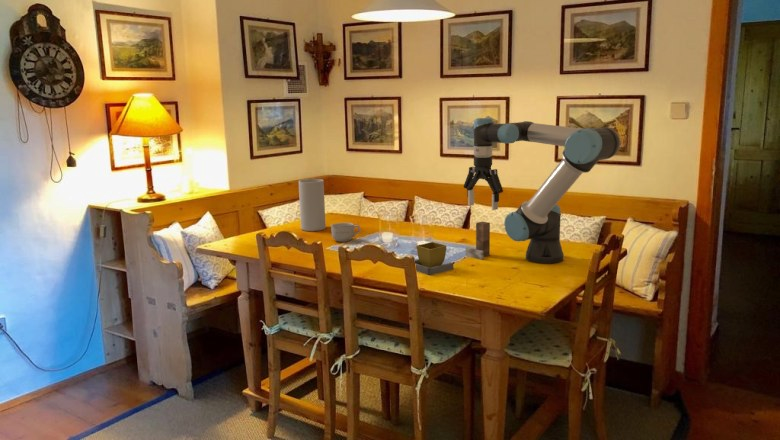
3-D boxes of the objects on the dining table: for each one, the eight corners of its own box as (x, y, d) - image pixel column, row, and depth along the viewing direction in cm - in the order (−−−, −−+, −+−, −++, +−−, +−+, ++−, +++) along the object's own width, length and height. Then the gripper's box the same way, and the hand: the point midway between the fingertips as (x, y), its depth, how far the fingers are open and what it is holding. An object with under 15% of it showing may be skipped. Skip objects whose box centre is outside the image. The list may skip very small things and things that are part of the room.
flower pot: (430, 271, 249) (430, 249, 247) (416, 267, 256) (415, 245, 254) (447, 267, 254) (447, 245, 252) (432, 263, 261) (432, 241, 259)
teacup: (327, 242, 300) (326, 225, 298) (338, 237, 310) (337, 221, 308) (354, 244, 295) (354, 227, 293) (364, 239, 305) (363, 222, 303)
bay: (453, 269, 251) (453, 263, 251) (429, 275, 244) (429, 269, 243) (429, 262, 262) (429, 256, 262) (406, 267, 255) (406, 261, 254)
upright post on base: (494, 256, 268) (494, 223, 265) (481, 259, 264) (481, 226, 261) (478, 252, 275) (478, 220, 272) (465, 255, 271) (465, 223, 268)
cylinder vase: (324, 231, 323) (321, 182, 318) (299, 231, 323) (296, 182, 318) (326, 226, 335) (324, 178, 330) (303, 226, 335) (300, 179, 330)
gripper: (455, 155, 269) (455, 204, 274) (499, 159, 250) (498, 212, 254) (468, 153, 274) (468, 202, 278) (512, 157, 254) (511, 210, 259)
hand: (482, 207), depth 266 cm, fingers open, 13 cm apart
